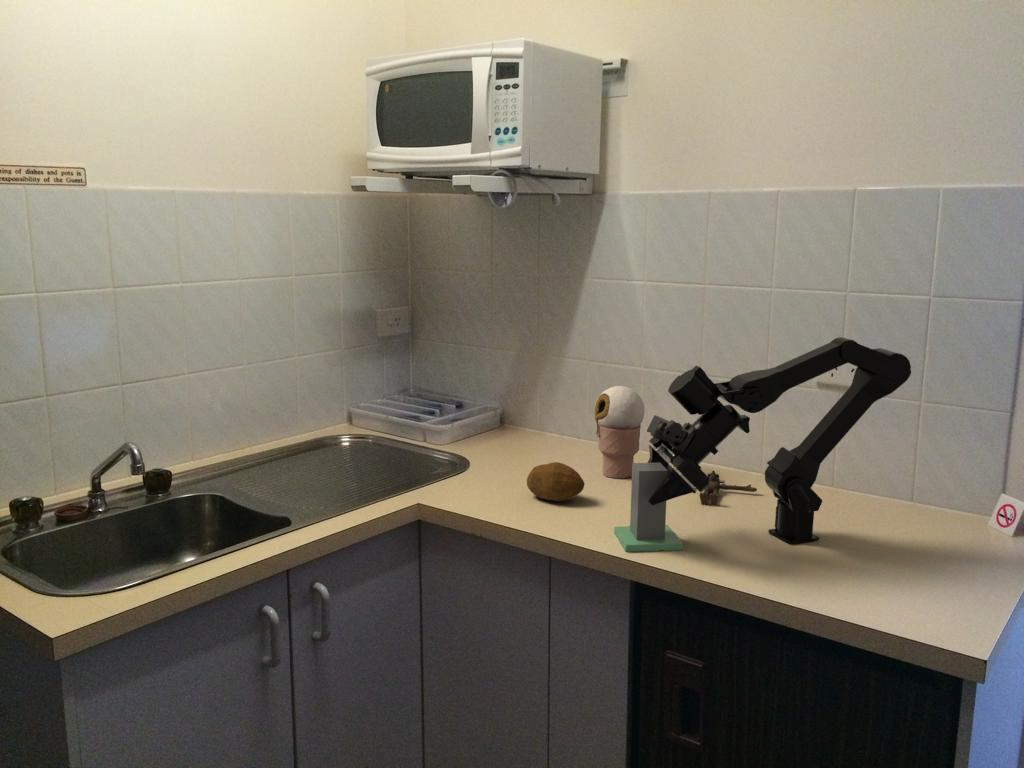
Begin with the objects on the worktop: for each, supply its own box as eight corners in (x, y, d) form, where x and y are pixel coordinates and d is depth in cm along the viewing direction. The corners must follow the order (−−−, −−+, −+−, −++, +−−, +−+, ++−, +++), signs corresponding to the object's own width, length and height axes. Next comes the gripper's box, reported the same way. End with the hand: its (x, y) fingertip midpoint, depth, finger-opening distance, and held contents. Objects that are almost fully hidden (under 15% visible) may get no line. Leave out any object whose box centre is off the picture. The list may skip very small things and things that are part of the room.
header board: (667, 531, 159) (668, 517, 158) (682, 549, 150) (682, 535, 150) (614, 532, 158) (614, 519, 157) (625, 551, 149) (625, 537, 149)
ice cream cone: (583, 473, 194) (585, 385, 191) (616, 464, 201) (619, 380, 197) (618, 484, 186) (621, 393, 182) (652, 475, 193) (655, 387, 189)
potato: (532, 490, 183) (533, 454, 181) (589, 496, 178) (590, 460, 177) (519, 501, 175) (520, 464, 174) (579, 509, 171) (579, 471, 169)
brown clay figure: (663, 488, 175) (672, 462, 189) (662, 508, 177) (671, 481, 190) (755, 497, 170) (758, 470, 183) (754, 517, 171) (757, 489, 185)
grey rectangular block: (657, 529, 157) (659, 462, 154) (664, 539, 152) (667, 470, 149) (629, 530, 156) (632, 463, 154) (636, 540, 151) (639, 471, 149)
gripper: (662, 390, 159) (601, 450, 160) (693, 413, 141) (624, 480, 142) (702, 431, 161) (641, 489, 162) (738, 458, 143) (669, 524, 144)
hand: (643, 494), depth 152 cm, fingers open, 9 cm apart
